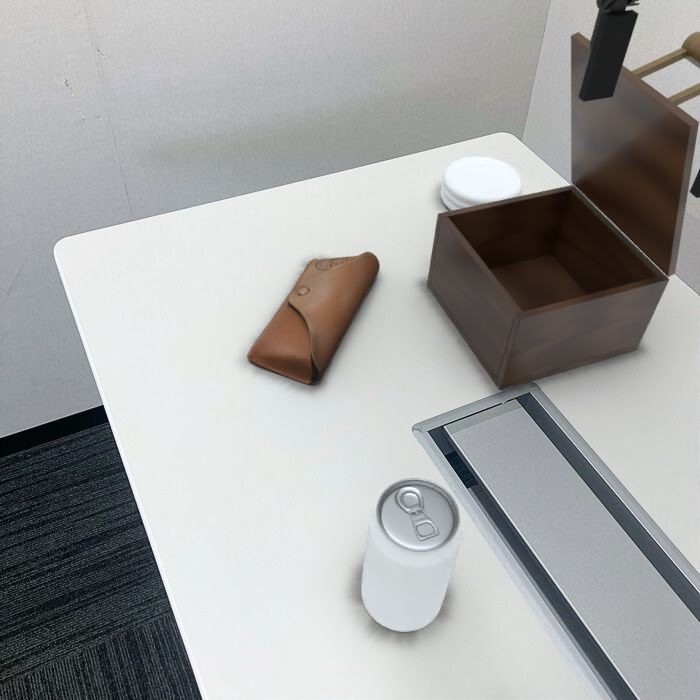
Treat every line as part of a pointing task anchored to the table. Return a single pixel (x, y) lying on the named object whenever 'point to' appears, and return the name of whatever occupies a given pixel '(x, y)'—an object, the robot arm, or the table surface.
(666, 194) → the lid
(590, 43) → the robot arm
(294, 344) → the sunglasses case
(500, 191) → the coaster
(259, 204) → the table surface
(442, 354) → the table surface
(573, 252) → the chest
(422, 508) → the can
